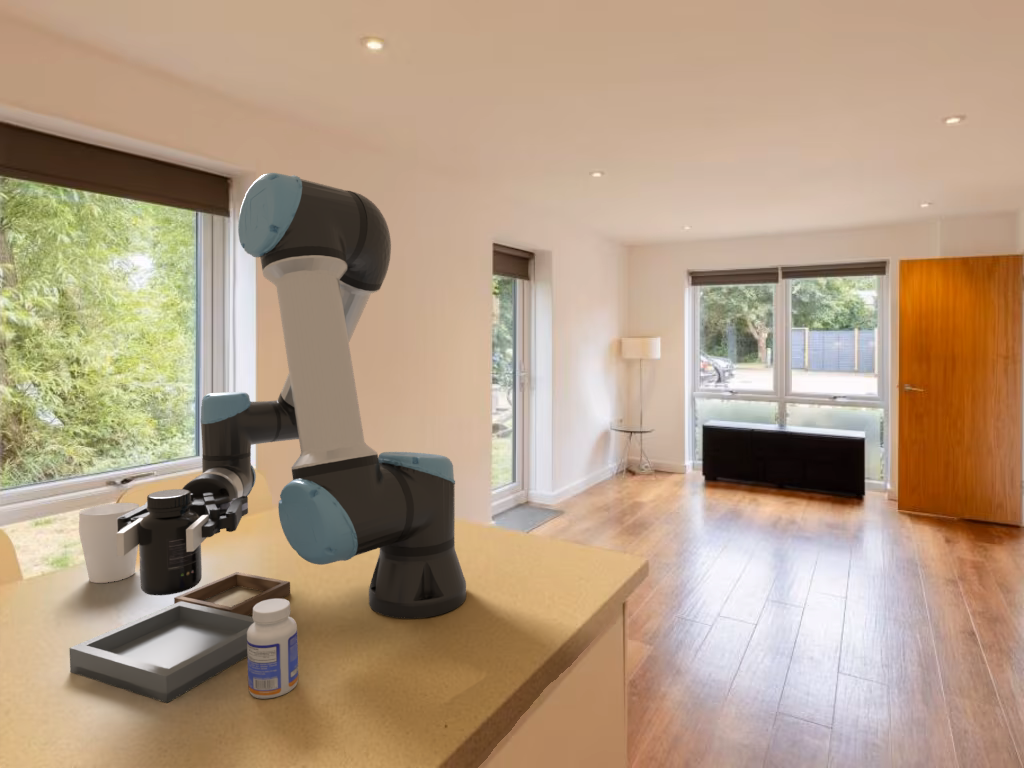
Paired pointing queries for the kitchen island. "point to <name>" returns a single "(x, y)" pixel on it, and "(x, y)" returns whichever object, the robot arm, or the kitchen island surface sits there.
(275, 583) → the bottle holder
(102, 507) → the cup
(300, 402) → the robot arm
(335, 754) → the kitchen island surface
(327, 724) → the kitchen island surface
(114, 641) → the tray
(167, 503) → the supplement bottle
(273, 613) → the pill bottle
